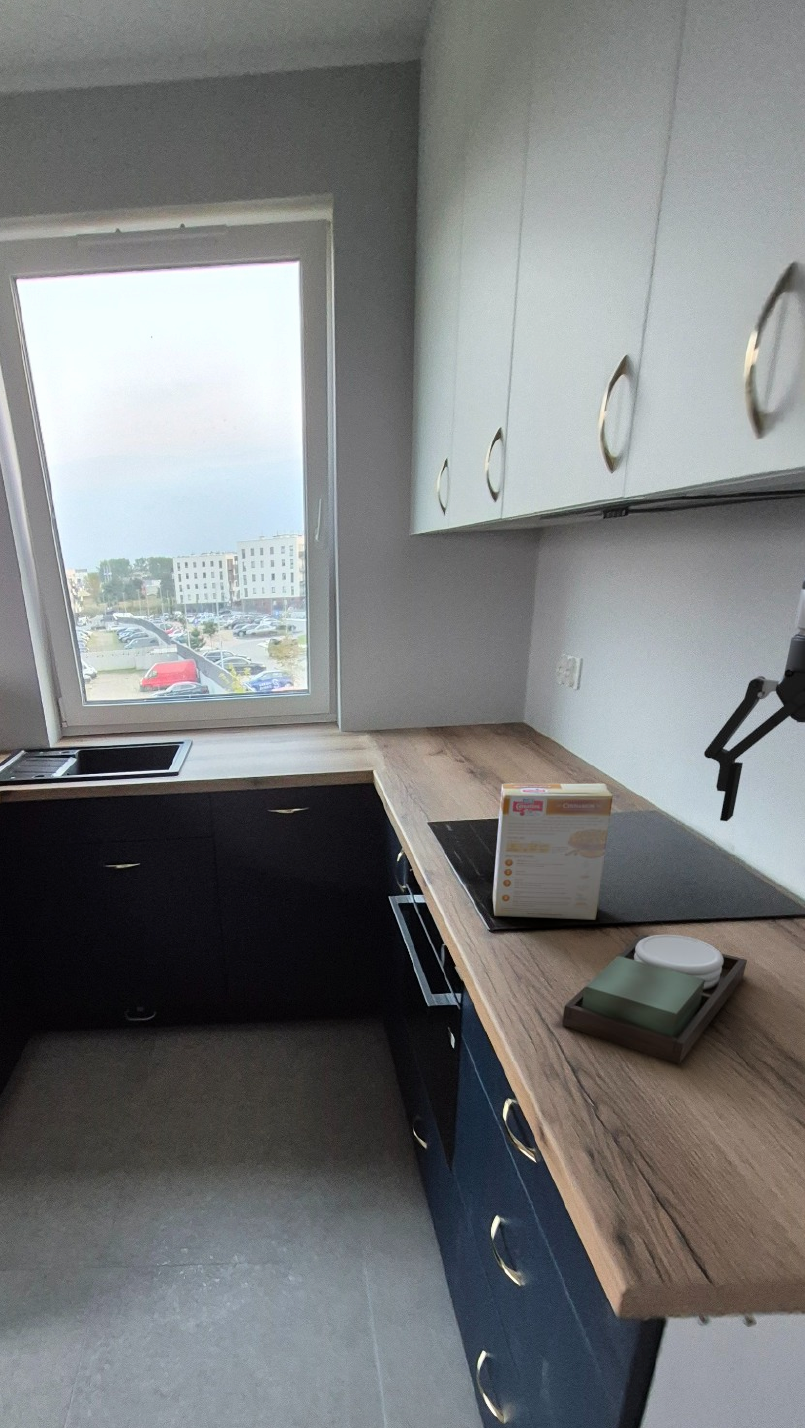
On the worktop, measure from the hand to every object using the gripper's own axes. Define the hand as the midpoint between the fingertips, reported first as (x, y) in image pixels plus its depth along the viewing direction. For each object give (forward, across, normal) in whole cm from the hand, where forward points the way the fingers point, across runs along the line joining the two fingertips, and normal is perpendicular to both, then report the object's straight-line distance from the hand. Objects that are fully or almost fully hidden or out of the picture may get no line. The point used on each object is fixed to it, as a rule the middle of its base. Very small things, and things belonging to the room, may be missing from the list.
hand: (792, 826), depth 92 cm
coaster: (+20, -8, -5) cm, 22 cm away
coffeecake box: (+20, -31, +8) cm, 38 cm away
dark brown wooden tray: (+21, -9, -11) cm, 25 cm away
